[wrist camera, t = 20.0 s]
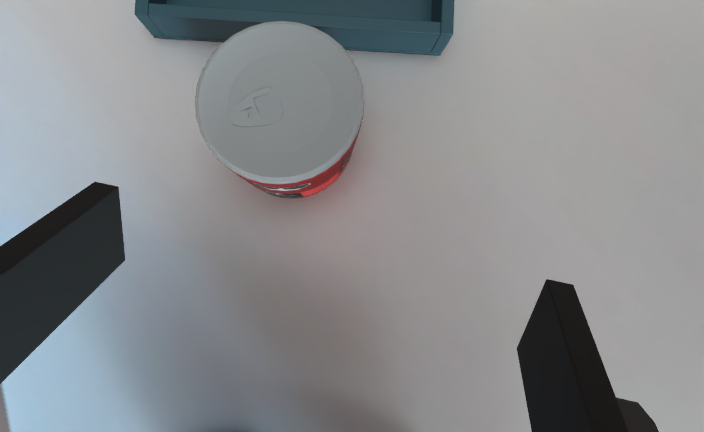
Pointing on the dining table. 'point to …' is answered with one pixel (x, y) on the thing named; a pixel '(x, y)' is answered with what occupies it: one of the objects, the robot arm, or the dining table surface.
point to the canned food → (281, 107)
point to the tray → (309, 21)
